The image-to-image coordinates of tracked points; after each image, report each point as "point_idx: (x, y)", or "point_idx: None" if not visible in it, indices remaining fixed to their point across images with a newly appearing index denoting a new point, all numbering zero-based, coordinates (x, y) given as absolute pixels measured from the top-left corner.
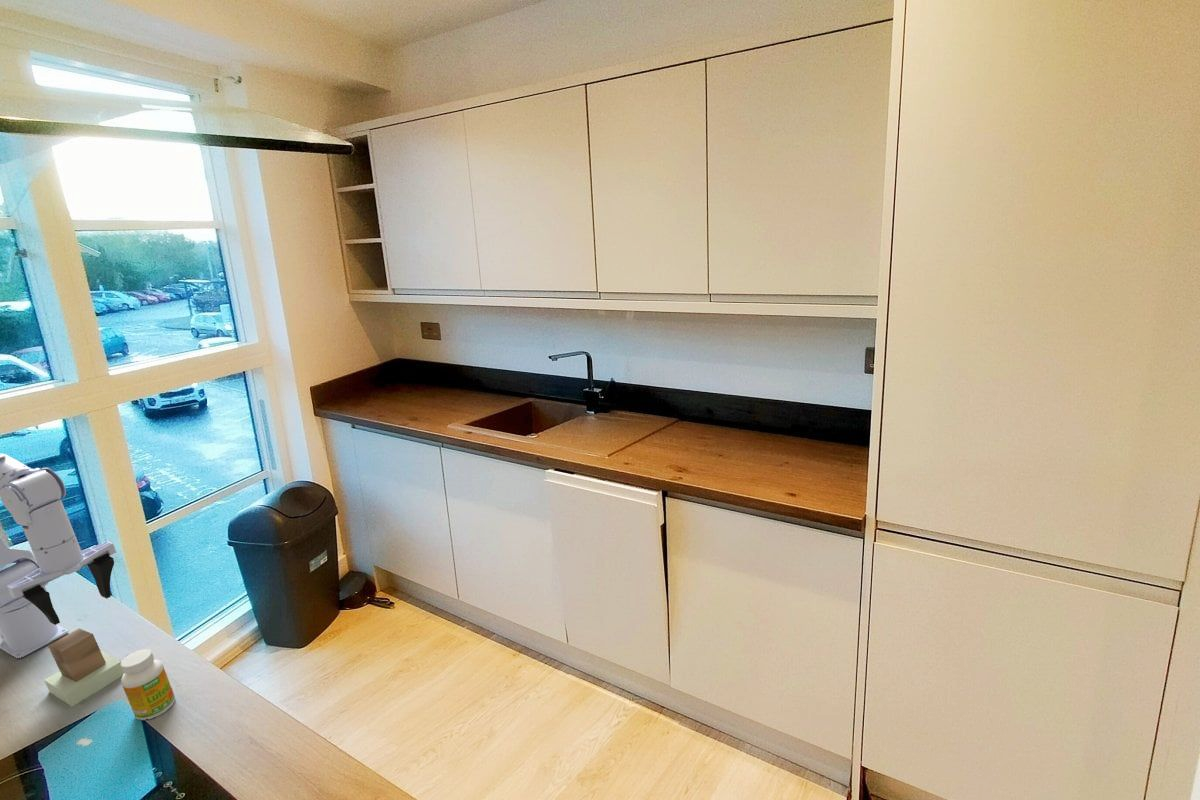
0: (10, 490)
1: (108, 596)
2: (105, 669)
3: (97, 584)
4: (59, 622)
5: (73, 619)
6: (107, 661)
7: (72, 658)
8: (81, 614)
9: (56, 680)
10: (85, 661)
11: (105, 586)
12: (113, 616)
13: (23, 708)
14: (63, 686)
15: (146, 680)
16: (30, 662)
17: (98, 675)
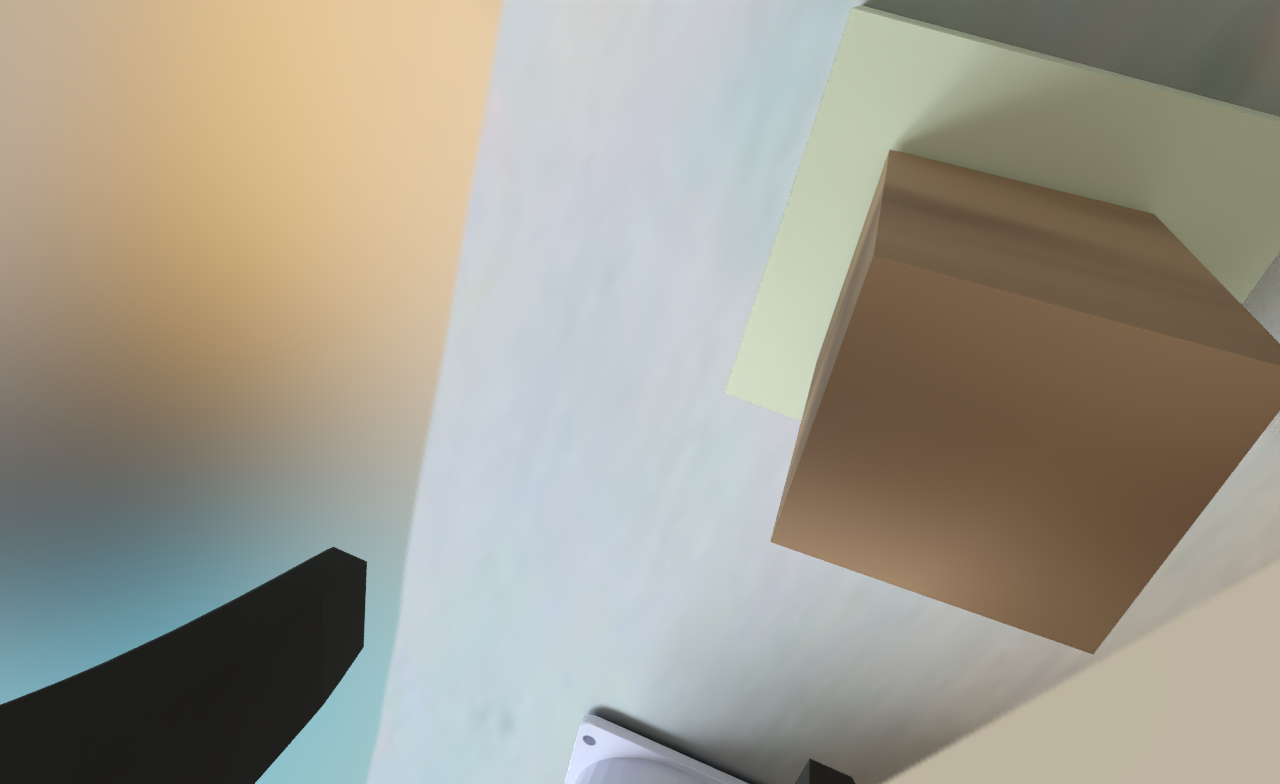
0: None
1: (337, 561)
2: (970, 70)
3: (250, 768)
4: (816, 764)
5: (513, 749)
6: (860, 165)
7: (1168, 281)
8: (479, 739)
9: None
10: (1038, 220)
11: (217, 652)
12: (443, 592)
13: (1235, 506)
14: None
15: None
16: (802, 741)
17: (1057, 63)
